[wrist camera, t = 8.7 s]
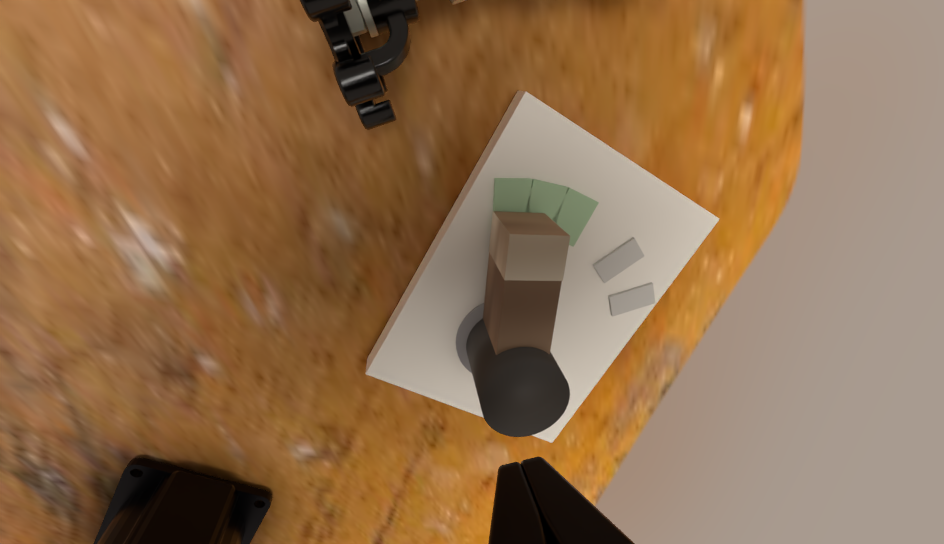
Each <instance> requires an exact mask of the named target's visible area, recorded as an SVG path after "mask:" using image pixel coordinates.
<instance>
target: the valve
mask: <svg viewBox="0 0 944 544" xmlns="http://www.w3.org/2000/svg"><path fill="white" fill-rule="evenodd" d="M416 1H419V0H300V2H301V4H302V6H303V8H304V10H305V12H306V14H307V16H308V17H309V19H310V20H311V21H313V22H316V21H318V22H319V24H320V26H321V28H322V30H323V32H324V35H325V37H326V39H327V41H328V44H329V46H330V48H331V51H332V54H333V56H334V59H335V61H334V62H333V64H332V67H333V71H334V74H335V77H336V80H337V83H338V85H339V88H340V90H341V92H342V94H343V97H344V99H345V101H346V102H347V104H348V105H349V106H351V107H353V106H355V107H356V110H357V112H358V115H359V117H360V120H361V122H362V124H363V126H364V127H365V129H367V130H370V129H373V128H375V127H378V126H381V125H384V124H387V123H390V122H393V121H396V115H395V112H394V109H393V107H392V104H391V101H390V100H386V101H383V102H380V103H377V104H376V102H375V99H376V98H379V97H382V96H384V95H385V93H386V92H387V91H388V89H387V86H386V83H385V80H384V77H383V76H384V75H386V74H388V73H391V72H392V71H394V70H395V69H397V68H398V67H399V66H400V65H401V64H402V63H403V61H404V59H405V58H406V56H407V54H408V51H409V49H410V42H411V39H410V31H409V27H408V25H410V24H413V23H416V22H418V21H419V12H418V7H417V3H416ZM463 1H466V0H450V2H451V3H452V4H453V5H454V4H457V3H460V2H463ZM372 17H373V18H372ZM364 20H365V21H364ZM373 20H374V21H373ZM365 22H366V24H365ZM374 22H375V24H374ZM366 25H367V27H368V30H369V33H370V35H371V37H372V38H373V37H376V36H378V34H379V35H381V34H384V33H387V32H390V36H389V39H388V41H387V42H386V43H385V44H384V45H383V46H382V47H379V48H377V49H374V50H371V51H368V52H365V50H364V47H363V44H362V42H361V39H360V36H359V35H361V34H363V33H366V32H367V31H368V30H367V27H366ZM375 25H376V26H375ZM376 28H377V29H376ZM377 31H378V32H377Z"/></svg>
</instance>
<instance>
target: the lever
mask: <svg viewBox="0 0 944 544" xmlns="http://www.w3.org/2000/svg"><path fill="white" fill-rule="evenodd" d="M569 241H570V235H569V234H567V233H566V232H565V231H564V230H563V229H562V228H561V227H560V226H559V225H557V224H556V223H555V222H554V221H553V220H552V219H551V218H550V217H548V216H547V215H546V214H545V213H529V212H502V211H493V213H492V223H491V233H490V244H489V259H488V269H487V280H486V290H485V300H484V311H483V318H482V319H481V320H480V321H479V322H478V323H476V324H475V326H474V327H473V328H472V330H471V331H470V333H469V335H468V338H467V343H466V351H467V356H468V359H469V363H470V367H471V371H472V375H473V379H474V383H475V387H476V391H477V394H478V398H479V402H480V406H481V410H482V414H483V417H484V419H485V421H486V422H487V423H488V425H489V426H490V427H491V428H492V429H494V430H495V431H497V432H499V433H501V434H504V435H507V436H513V437H524V436H530V435H534V434H537V433H539V432H542V431H544V430H546V429H547V428H549V427H550V426H552V425H553V424H554V423H556V422H557V421H558V420H559V419H560V417H561V416H562V415H563V413H564V412H565V410H566V408H567V406H568V403H569V398H570V389H569V384H568V382H567V380H566V378H565V376H564V374H563V373H562V371H561V369H560V367H559V366H558V364H557V362H556V360H555V359H554V357H553V355H552V353H551V352H550V350H551V344H552V338H553V332H554V326H555V319H556V313H557V307H558V301H559V295H560V289H561V283H562V281H563V277H564V271H565V265H566V259H567V253H568V247H569Z"/></svg>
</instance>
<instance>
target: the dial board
mask: <svg viewBox="0 0 944 544" xmlns="http://www.w3.org/2000/svg"><path fill="white" fill-rule="evenodd" d="M493 211H502V212H529V213H545V214H546V215H547V216H548V217H550V218H551V219H552V220H553V221H554V222H555V223H556V224H557V225H559V226H560V227H561V228H562V229H563V230H564V231H565V232H566V233H567V234H569V235H570V241H569V247H568V253H567V259H566V265H565V271H564V277H563V281H562V283H561V289H560V295H559V301H558V307H557V313H556V319H555V326H554V332H553V338H552V344H551V350H550V352H551V353H552V355H553V357H554V359H555V360H556V362H557V364H558V366H559V367H560V369H561V371H562V373H563V374H564V376H565V378H566V380H567V382H568V384H569V389H570V398H569V403H568V406H567V408H566V410H565V412H564V413H563V415H562V416H561V417H560V419H559V420H558V421H557V422H556V423H554V424H553V425H552V426H550V427H549V428H547V429H546V430H544V431H542V432H539V433H537V434H534V435H532V436H535V437H537V438H540V439H543V440H546V441H548V442H551V443H552V442H553V441H554V440H555V438H556V437H557V436H558V434H559V433H560V432H561V430H562V429H563V428H564V426H565V425H566V424H567V422H568V421H569V420H570V418H571V417H572V416H573V414H574V413H575V412H576V410H577V409H578V408H579V406H580V405H581V404H582V402H583V401H584V400H585V398H586V397H587V396H588V394H589V393H590V392H591V390H592V389H593V388H594V386H595V385H596V384H597V382H598V381H599V380H600V378H601V377H602V376H603V374H604V373H605V372H606V370H607V369H608V368H609V366H610V365H611V364H612V362H613V361H614V360H615V358H616V357H617V356H618V354H619V353H620V352H621V350H622V349H623V348H624V346H625V345H626V344H627V342H628V341H629V340H630V338H631V337H632V336H633V334H634V333H635V332H636V330H637V329H638V328H639V326H640V325H641V324H642V322H643V321H644V320H645V318H646V317H647V315H648V314H649V313H650V311H651V310H652V309H653V307H654V306H655V305H656V303H657V302H658V301H659V299H660V298H661V297H662V295H663V294H664V293H665V291H666V290H667V289H668V287H669V286H670V285H671V283H672V282H673V281H674V279H675V278H676V277H677V275H678V274H679V273H680V271H681V270H682V269H683V267H684V266H685V265H686V263H687V262H688V261H689V259H690V258H691V257H692V255H693V254H694V253H695V251H696V250H697V249H698V247H699V246H700V245H701V243H702V242H703V241H704V239H705V238H706V237H707V235H708V234H709V233H710V231H711V230H712V229H713V227H714V226H715V225H716V223H717V222H718V221H719V218H718V217H716V216H714V215H713V214H711V213H710V212H708V211H707V210H705V209H704V208H702V207H701V206H699V205H698V204H696V203H695V202H693V201H692V200H690V199H689V198H687V197H686V196H684V195H683V194H681V193H680V192H678V191H677V190H675V189H674V188H672V187H670V186H669V185H667V184H666V183H664V182H663V181H661V180H660V179H658V178H657V177H655V176H654V175H652V174H651V173H649V172H648V171H646V170H645V169H643V168H642V167H640V166H639V165H637V164H636V163H634V162H633V161H631V160H629V159H628V158H626V157H625V156H623V155H622V154H620V153H619V152H617V151H616V150H614V149H613V148H611V147H610V146H608V145H607V144H605V143H604V142H602V141H601V140H599V139H598V138H596V137H595V136H593V135H592V134H590V133H588V132H587V131H585V130H584V129H582V128H581V127H579V126H578V125H576V124H575V123H573V122H572V121H570V120H569V119H567V118H566V117H564V116H563V115H561V114H560V113H558V112H557V111H555V110H554V109H552V108H551V107H549V106H548V105H546V104H544V103H543V102H541V101H540V100H538V99H537V98H535V97H534V96H532V95H531V94H529V93H528V92H526V91H517V93H516V95H515V96H514V98H513V100H512V102H511V103H510V105H509V107H508V109H507V111H506V112H505V114H504V116H503V118H502V120H501V121H500V123H499V125H498V127H497V128H496V130H495V132H494V134H493V136H492V137H491V139H490V141H489V143H488V144H487V146H486V148H485V150H484V152H483V153H482V155H481V157H480V159H479V160H478V162H477V164H476V166H475V168H474V169H473V171H472V173H471V175H470V176H469V178H468V180H467V182H466V184H465V185H464V187H463V189H462V191H461V192H460V194H459V196H458V198H457V200H456V201H455V203H454V205H453V207H452V209H451V210H450V212H449V214H448V216H447V217H446V219H445V221H444V223H443V225H442V226H441V228H440V230H439V232H438V233H437V235H436V237H435V239H434V241H433V242H432V244H431V246H430V248H429V249H428V251H427V253H426V255H425V257H424V258H423V260H422V262H421V264H420V265H419V267H418V269H417V271H416V273H415V274H414V276H413V278H412V280H411V281H410V283H409V285H408V287H407V289H406V290H405V292H404V294H403V296H402V298H401V299H400V301H399V303H398V305H397V306H396V308H395V310H394V312H393V314H392V315H391V317H390V319H389V321H388V322H387V324H386V326H385V328H384V330H383V331H382V333H381V335H380V337H379V338H378V340H377V342H376V344H375V346H374V347H373V349H372V351H371V353H370V354H369V356H368V358H367V365H366V375H369V376H372V377H375V378H377V379H380V380H383V381H385V382H388V383H391V384H394V385H396V386H399V387H402V388H404V389H407V390H410V391H413V392H415V393H418V394H421V395H423V396H426V397H429V398H432V399H434V400H437V401H440V402H442V403H445V404H448V405H451V406H453V407H456V408H459V409H461V410H464V411H467V412H470V413H472V414H475V415H478V416H480V417H483V414H482V410H481V406H480V402H479V398H478V394H477V391H476V387H475V383H474V379H473V375H472V371H471V367H470V363H469V359H468V356H467V351H466V343H467V338H468V335H469V333H470V331H471V330H472V328H473V327H474V326H475V324H476V323H478V322H479V321H480V320H481V319H482V318H483V311H484V300H485V290H486V280H487V269H488V259H489V244H490V233H491V223H492V213H493ZM483 418H484V417H483Z"/></svg>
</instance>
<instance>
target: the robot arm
mask: <svg viewBox="0 0 944 544" xmlns="http://www.w3.org/2000/svg"><path fill="white" fill-rule="evenodd" d="M138 469H139V470H138ZM259 500H262V501H259ZM271 501H272V494H271V493H270V492H269V491H266V490H263V489H259V488H256V487H252V486H248V485H244V484H240V483H236V482H233V481H229V480H225V479H221V478H217V477H214V476H210V475H206V474H202V473H198V472H195V471H191V470H187V469H183V468H179V467H176V466H172V465H168V464H164V463H160V462H156V461H153V460H149V459H145V458H135V459H133V460H131V461H130V463H129V464H128V465H127V467H126V468H125V470H124V472H123V474H122V477H121V479H120V481H119V484H118V486H117V489H116V491H115V494H114V496H113V498H112V501H111V503H110V506H109V508H108V510H107V513H106V515H105V518H104V520H103V523H102V525H101V527H100V530H99V532H98V535H97V537H96V539H95V542H94V544H250V542H251V540H252V538H253V536H254V535H255V533H256V531H257V529H258V527H259V525H260V524H261V522H262V520H263V518H264V516H265V515H266V513H267V511H268V509H269V507H270V504H271ZM489 544H634V543H633V542H632V541H631V540H630V539H629V538H628V537H627V536H626V535H625V534H624V533H623V532H622V531H621V530H619V529H618V528H617V527H616V526H615V525H614V524H613V523H612V522H611V521H610V520H609V519H608V518H607V517H605V516H604V515H603V514H602V513H601V512H600V511H599V510H598V509H597V508H596V507H595V506H594V505H593V504H592V503H590V502H589V501H588V500H587V499H586V498H585V497H584V496H583V495H582V494H581V493H580V492H579V491H578V490H577V489H575V488H574V487H573V486H572V485H571V484H570V483H569V482H568V481H567V480H566V479H565V478H564V477H563V476H562V475H560V474H559V473H558V472H557V471H556V470H555V469H554V468H553V467H552V466H551V465H550V464H549V463H548V462H547V461H545V460H544V459H543V458H542V457H535V458H531V459H526V460H523V461H522V462H521V464H520V463H518V462H514V463H510V464H506V465H502V466H500V467H499V469H498V476H497V483H496V491H495V498H494V506H493V513H492V521H491V529H490V536H489Z"/></svg>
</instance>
